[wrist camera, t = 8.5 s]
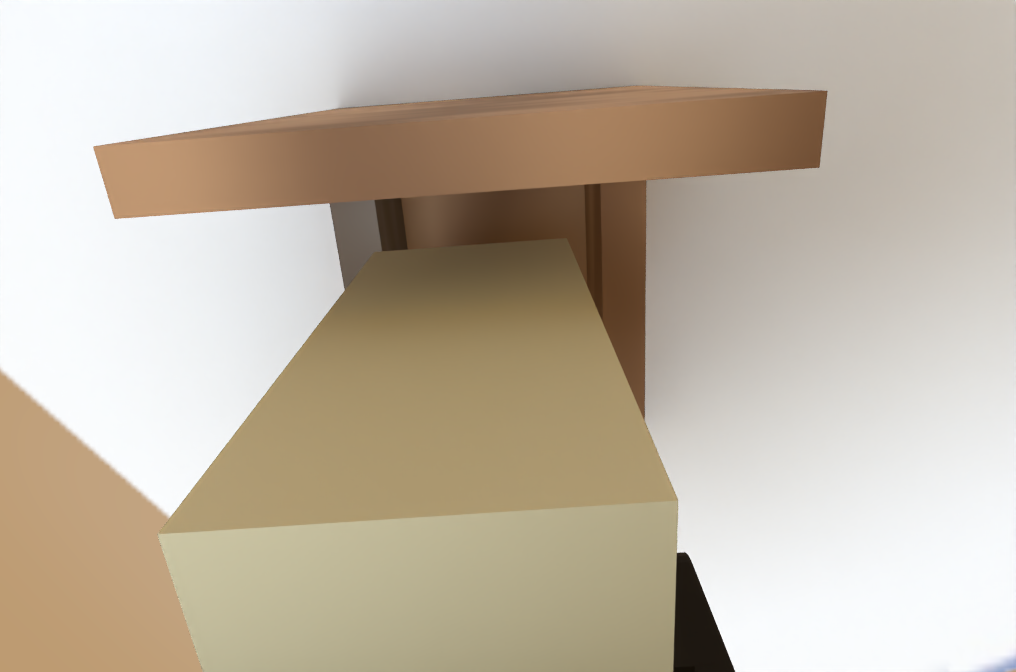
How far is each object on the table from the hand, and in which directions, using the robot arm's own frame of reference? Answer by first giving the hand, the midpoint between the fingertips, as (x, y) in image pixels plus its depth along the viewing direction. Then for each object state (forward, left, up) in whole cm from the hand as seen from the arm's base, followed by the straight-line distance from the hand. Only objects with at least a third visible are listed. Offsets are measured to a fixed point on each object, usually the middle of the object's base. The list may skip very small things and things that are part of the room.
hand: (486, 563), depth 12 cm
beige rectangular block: (0, 0, -4) cm, 4 cm away
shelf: (0, -1, -13) cm, 13 cm away
